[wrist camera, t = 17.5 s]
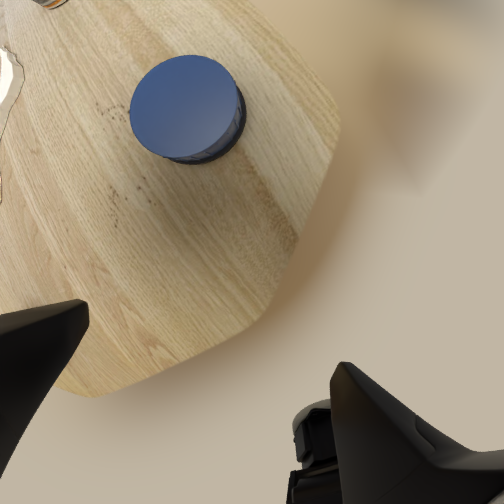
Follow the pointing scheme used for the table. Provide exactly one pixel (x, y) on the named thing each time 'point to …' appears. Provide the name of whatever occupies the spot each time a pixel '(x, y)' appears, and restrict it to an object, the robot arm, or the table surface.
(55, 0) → the pill bottle
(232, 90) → the lid
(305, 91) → the table surface
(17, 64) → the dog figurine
